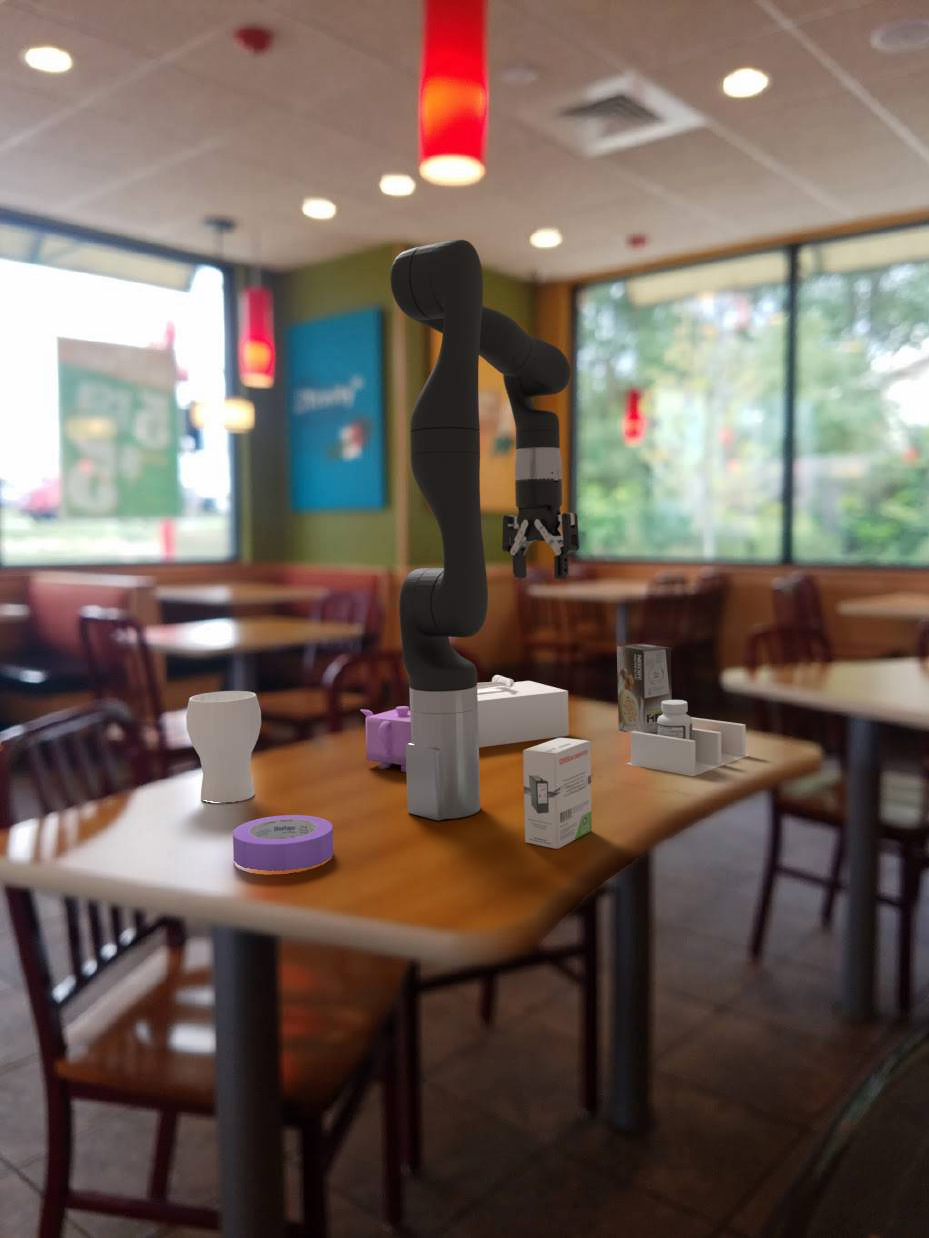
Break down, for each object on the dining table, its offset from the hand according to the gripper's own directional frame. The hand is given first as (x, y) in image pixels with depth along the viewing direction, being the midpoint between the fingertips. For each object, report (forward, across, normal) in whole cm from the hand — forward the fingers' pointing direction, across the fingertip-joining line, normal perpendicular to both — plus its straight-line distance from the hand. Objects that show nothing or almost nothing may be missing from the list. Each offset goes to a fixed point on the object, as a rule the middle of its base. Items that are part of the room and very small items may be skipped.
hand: (540, 578), depth 156 cm
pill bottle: (+29, +20, +8) cm, 36 cm away
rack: (+30, +20, +12) cm, 38 cm away
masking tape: (+31, +7, -56) cm, 64 cm away
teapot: (+30, -16, -16) cm, 38 cm away
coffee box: (+30, 0, +29) cm, 42 cm away
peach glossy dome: (+29, +20, +16) cm, 39 cm away
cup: (+30, -22, -46) cm, 59 cm away
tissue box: (+31, -20, +9) cm, 38 cm away
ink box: (+30, +27, -29) cm, 50 cm away
